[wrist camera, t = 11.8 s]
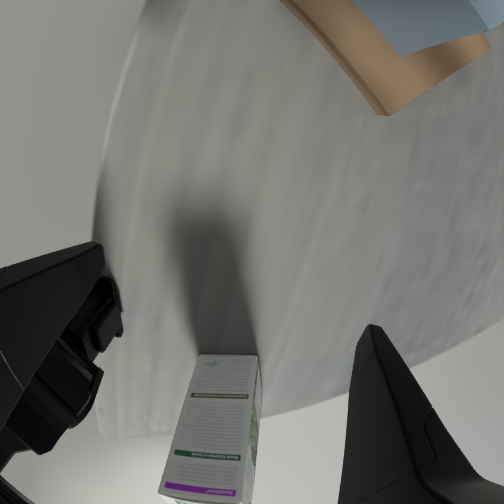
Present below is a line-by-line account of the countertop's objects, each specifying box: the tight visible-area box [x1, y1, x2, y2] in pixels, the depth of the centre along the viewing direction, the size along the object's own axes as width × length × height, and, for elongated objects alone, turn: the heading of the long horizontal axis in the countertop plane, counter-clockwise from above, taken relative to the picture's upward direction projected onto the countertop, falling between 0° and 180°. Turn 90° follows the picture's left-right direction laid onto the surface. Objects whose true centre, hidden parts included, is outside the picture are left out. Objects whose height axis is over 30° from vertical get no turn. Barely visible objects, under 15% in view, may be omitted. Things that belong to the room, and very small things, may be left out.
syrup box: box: [158, 354, 262, 504], centre depth 22 cm, size 6×6×14 cm
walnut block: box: [280, 0, 491, 116], centre depth 14 cm, size 10×10×3 cm
